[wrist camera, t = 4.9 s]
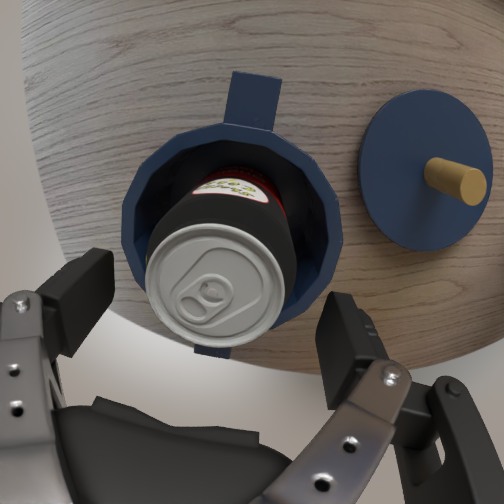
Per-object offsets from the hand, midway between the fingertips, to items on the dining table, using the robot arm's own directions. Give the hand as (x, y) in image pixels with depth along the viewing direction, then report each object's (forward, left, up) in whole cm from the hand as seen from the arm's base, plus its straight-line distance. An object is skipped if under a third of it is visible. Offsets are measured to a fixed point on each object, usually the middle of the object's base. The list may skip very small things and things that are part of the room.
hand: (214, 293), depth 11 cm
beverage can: (0, 0, -12) cm, 12 cm away
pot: (0, 0, -13) cm, 13 cm away
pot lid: (+14, +6, -12) cm, 19 cm away
